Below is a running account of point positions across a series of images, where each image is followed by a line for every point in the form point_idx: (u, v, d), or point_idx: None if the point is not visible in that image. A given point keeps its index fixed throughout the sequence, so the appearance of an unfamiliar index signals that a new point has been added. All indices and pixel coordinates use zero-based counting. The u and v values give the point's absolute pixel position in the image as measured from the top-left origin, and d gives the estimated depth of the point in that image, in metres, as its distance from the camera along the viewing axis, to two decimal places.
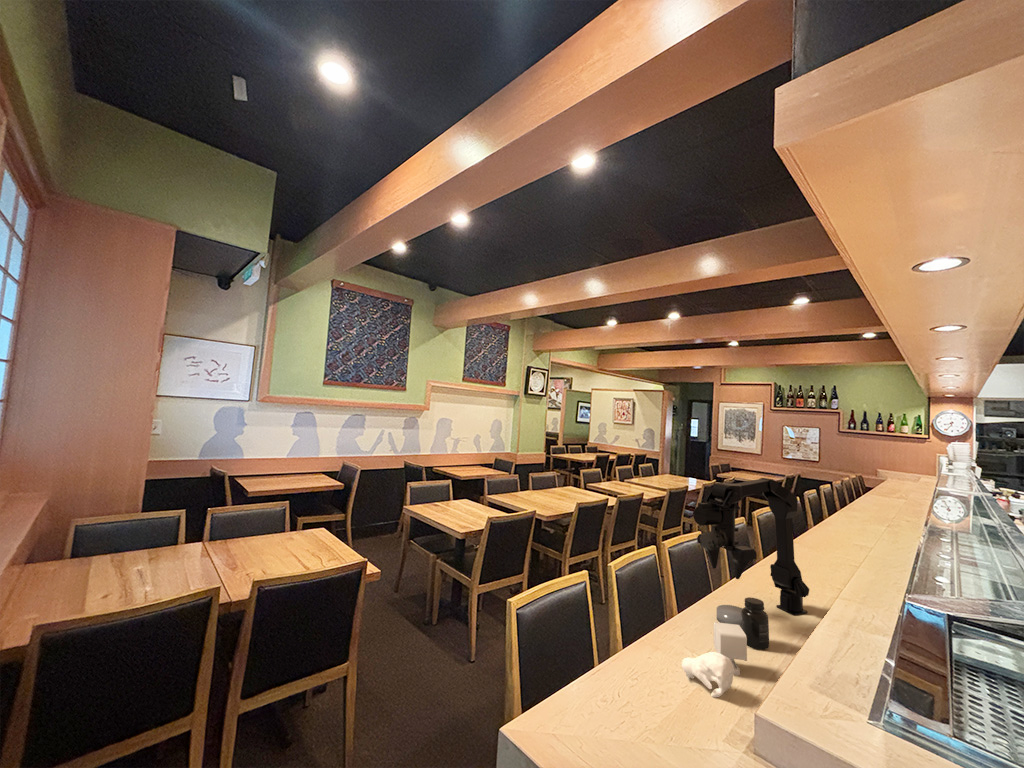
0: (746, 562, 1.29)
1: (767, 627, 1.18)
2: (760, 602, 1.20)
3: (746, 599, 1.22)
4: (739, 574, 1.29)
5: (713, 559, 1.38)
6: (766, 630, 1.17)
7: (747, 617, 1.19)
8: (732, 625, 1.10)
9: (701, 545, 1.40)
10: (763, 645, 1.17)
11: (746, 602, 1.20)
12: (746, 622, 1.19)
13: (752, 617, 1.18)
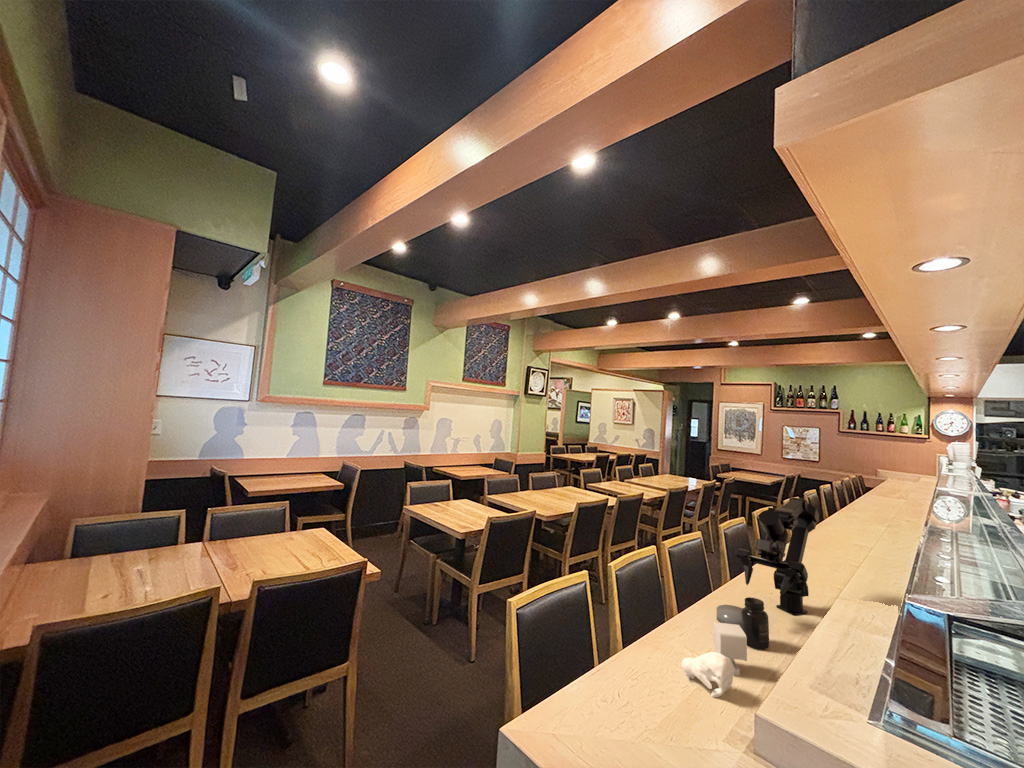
0: (793, 582, 1.24)
1: (767, 627, 1.18)
2: (760, 602, 1.20)
3: (746, 599, 1.22)
4: (784, 590, 1.23)
5: (748, 575, 1.30)
6: (766, 630, 1.17)
7: (747, 617, 1.19)
8: (732, 625, 1.10)
9: (741, 556, 1.33)
10: (763, 645, 1.17)
11: (746, 602, 1.20)
12: (746, 622, 1.19)
13: (752, 617, 1.18)
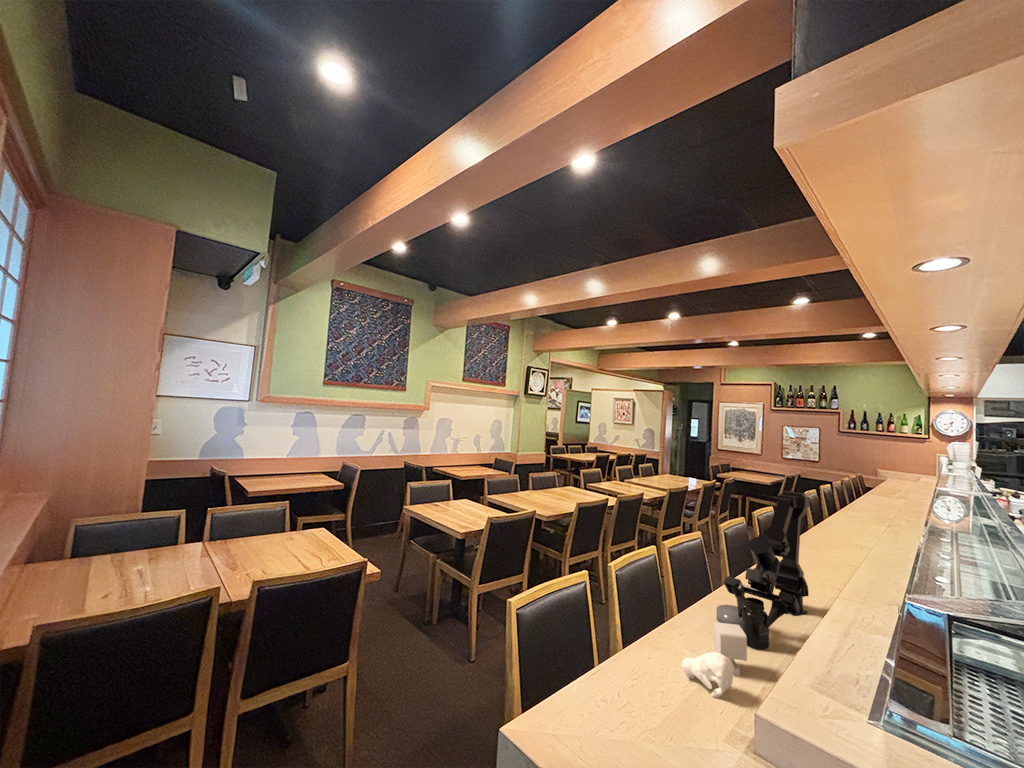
0: (780, 614, 1.19)
1: (767, 627, 1.18)
2: (760, 602, 1.20)
3: (746, 599, 1.22)
4: (771, 622, 1.17)
5: (741, 607, 1.23)
6: (766, 630, 1.17)
7: (747, 617, 1.19)
8: (732, 625, 1.10)
9: (734, 587, 1.26)
10: (763, 645, 1.17)
11: (746, 602, 1.20)
12: (746, 622, 1.19)
13: (752, 617, 1.18)
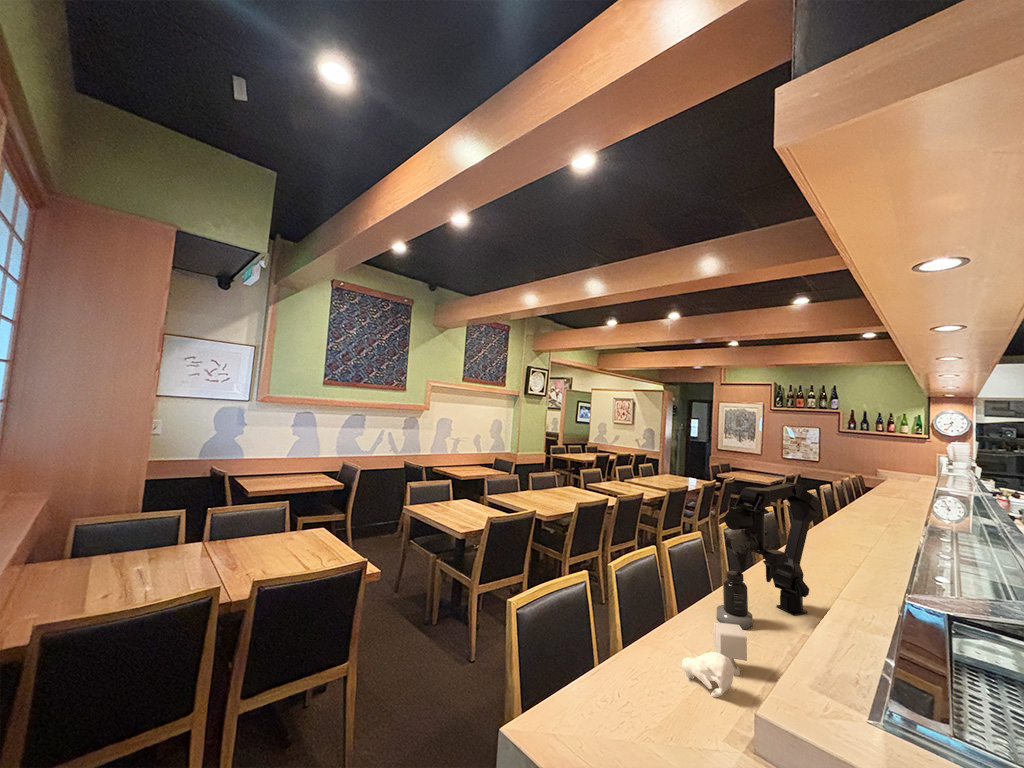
0: (777, 565, 1.32)
1: (743, 597, 1.30)
2: (739, 574, 1.32)
3: (728, 571, 1.35)
4: (770, 577, 1.32)
5: (742, 562, 1.41)
6: (741, 599, 1.30)
7: (725, 586, 1.33)
8: (732, 625, 1.10)
9: (730, 549, 1.42)
10: (738, 612, 1.29)
11: (726, 573, 1.34)
12: (725, 591, 1.33)
13: (729, 586, 1.32)
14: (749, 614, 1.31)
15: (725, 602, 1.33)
